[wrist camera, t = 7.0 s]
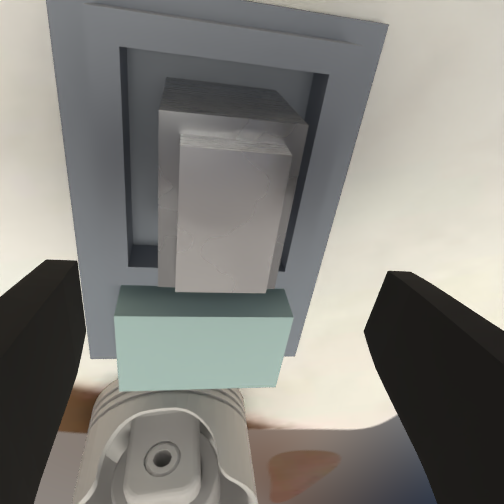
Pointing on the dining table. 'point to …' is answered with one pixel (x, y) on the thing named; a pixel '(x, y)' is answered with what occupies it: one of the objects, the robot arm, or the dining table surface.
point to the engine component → (167, 449)
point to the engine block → (224, 185)
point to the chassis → (146, 173)
